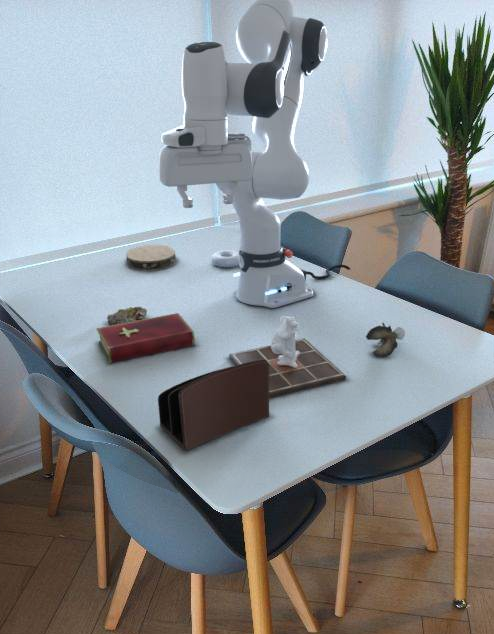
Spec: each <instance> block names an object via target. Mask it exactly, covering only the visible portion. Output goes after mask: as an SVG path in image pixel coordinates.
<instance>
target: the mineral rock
mask: <svg viewBox="0 0 494 634" xmlns="http://www.w3.org/2000/svg"><path fill="white" fill-rule="evenodd" d="M147 313H148V310H147V309H146V308H144V307H142V306H135V307H132V306H130V307H128V308H120V309H118V310H117V311H116V312H114V313H112V314H108V315H107V317H106V320H107V323H108V325H117V324H123V323H128V322H133V321H138V320H144V319H146V316H147Z"/></svg>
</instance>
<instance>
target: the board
mask: <svg viewBox="0 0 494 634" xmlns="http://www.w3.org/2000/svg"><path fill="white" fill-rule="evenodd" d="M295 350H296V351H299V352H300V354H299V355H298V357H297V360H296V361H295V363H296V364H297V366H298V367H297V368H294V367H291V366H287V365H278V364H277V362H278V361H280V360H279V359H278V357H279V356H282V354H275V353H273V351H272V349H271V344H270V345H266V346H261V347H256V348H252V349H247V350H242V351H238V352H233V353H228V355H229V360H230V361H231V362H232V363H233V365H234V366H236V365H240V364H244V363H248V362H252V361H257V360H267V362H268V363H269V399H273V398H277V397H282V396H286V395H290V394H294V393H298V392H302V391H306V390H310V389H315V388H318V387H322V386H328V385H331V384H335V383H339V382H343V381H346V379H347V375H346V374H345V373H344V372H343V371H341V369H340V368H338V367H337V366H336V365H335V364H334V363H332V361H330V360H329V359H328V358H327V357H326V356H325V355H323V353H322V352H321V351H319V349H317V348H316V347H315V346H313V344H312V343H310V342H309V341H308V340H307V339H306V338H304V337H303V338H300V339H296V340H295ZM296 351H295V352H296Z"/></svg>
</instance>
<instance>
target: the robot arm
mask: <svg viewBox="0 0 494 634" xmlns="http://www.w3.org/2000/svg"><path fill="white" fill-rule="evenodd" d="M235 40H236V45H237V48H238V51H239V53H240V55H241V56H242V57H243V59H244V60H245V61H246V62H228V61H227V60H226V56H225V51H224V50H225V49H224V47H223V45H222V43H219V42H216V41H215V42H214V41H201V42H194V43H191V44H188V45H187V46H186V47H185V48H184V49H183V55H182V65H181V92H182V93H181V94H182V98H183V102H184V111H183V112H184V113H183V124H182V125H180V126H178V127H176V128H173V129H171V130H169V131H166V132H163V133H162V134H161V137H160V138H161V144H162V145H164V146H163V147H162V148H161V150H160V152H159V156H158V157H159V158H158V159H159V160H158V177H159V181H160V183H161V184H162V185H163V186H164V187H169V188H171V187H176V190H177V192H178V194H179V196H180V197H181V199H182V207H183V208H185V209H190V208H191V209H192V208H193V206H194V205H193V201H194V199H193V198H190V197H188V196H189V195H187V193H186V192H188V186H197V185H211V184H215V186H216V187H217V188H218V190H219V191H221V193H223V194H222V199H223V201H222V202H223V204H224V205H232V207H233V209H234V211H235V213H236V216H237V221H238V226H239V239H240V240H239V242H240V246H239V248H238V253H239V265H238V267H239V272H235V273H233V276H232V277H233V278H235V277H239V278H238V285H237V289H236V291H235V298H236V299H237V300H238V301H239V302H241V303H243V304H246V305H251V306H259V307H266V308H270V309H276V308H280V307H282V306H286V305H289V304H292V303H296V302H299V301H303V300H306V299H310V298H313V297H314V290H313V288H312V287H311V286H310V285H309V284H308V283H306V281H307V275H309V276H311V278H312V279H315V280H324V279H328V278H330V277H331V273H330V271H332V270H335V269H340V268H344V269H346V270H348V271H349V270H351V268H350V267H349V266H348V265H346V264H337V265H332V266H330V267H328V268H326V269H325V275H319V276H318V275H315V274H314V273H313V272H312V271H307V270H305V269H302V268H300V267H298V266H296V265H295V264H293V262H291V261H289V260H288V259H291V258H293V256H294V252H293V250H290V249H288V248H285V247H284V246H281V239H282V238H281V237H282V236H281V235H282V232H281V231H282V223H281V220H280V218H279V217H278V214H276V213H275V212H274V211H272V210H271V209H270V208H268V207H267V206H266V204H265V202H264V200H263V199H270V200H271V199H272V200H281V201H283V200H284V201H285V200H291V199H292V200H293V199H298V198H300V197H301V196H302V195H303V194H304V193H305V192H306V190H307V189H308V186H309V182H310V171H309V168H308V165H307V163H306V161H305V160H304V159H303V158H302V157H301V156H300V155H299V154H298V151H297V149H296V146H295V132H296V129H297V128H296V127H297V123H298V120H299V119H298V118H299V115H300V111H301V106H302V101H303V94H304V76H305V77H309V76H310V75H311V74H312V73H313V71H314V70H315V69H317V68H318V67H319V65H320V64H322V62H323V61H324V59H325V55H326V53H327V50H328V33H327V28H326V26H325V24H324V23H323V21H322V20H318V19H316V18H313V17H312V18H311V17H309V18H303V17H297V16H295V11H294V7H293V5H292V2H291V1H290V0H256V1H255V2H253V4H251V6H250V7H249V8H247V10H246V11H245V13H244V14H243V15H242V17H241V18H240V20H239V22H238V24H237V27H236V32H235ZM228 116H241V117H242V116H243V117H246V116H247V117H253V121H252V123H251V125H252V127H251V128H252V129H251V130H252V134H253V136H254V138H255V139H256V141H258V143H260V144H261V146H264V147H265V150H264V151H261V152H260V151H259V152H258V151H252V140H251V138H250V137H249V136H248V135H246V134H245V133H229V123H228V121H229V120H228V118H229V117H228ZM287 258H288V259H287Z"/></svg>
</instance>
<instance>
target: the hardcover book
mask: <svg viewBox="0 0 494 634" xmlns="http://www.w3.org/2000/svg"><path fill="white" fill-rule="evenodd" d="M96 332H97V333H98V335H99V340H98V344H99V346H100V348H101V350H102V351H103V354H104V355H105V357H106V359H107V361H108V363H109V364H113V363H118V362H123V361H127V360H132V359H138V358H141V357H147V356H152V355H156V354H160V353H165V352H169V351H170V352H171V351H175V350H180V349H185V348H189V347H194V346H195V344H196V341H195V331H194V330H193V328H192V327H191V326H190V325H189V324H188V323H187V322H186V320H185V319H184V318H183V317H182V315H180V313H179V312H176V313H170V314H165V315H160V316H155V317H149V318H144V319H143V320H138V321H133V322H128V323H123V324H117V325H113V324H111V325H107V326H102V327H97V328H96Z"/></svg>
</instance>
